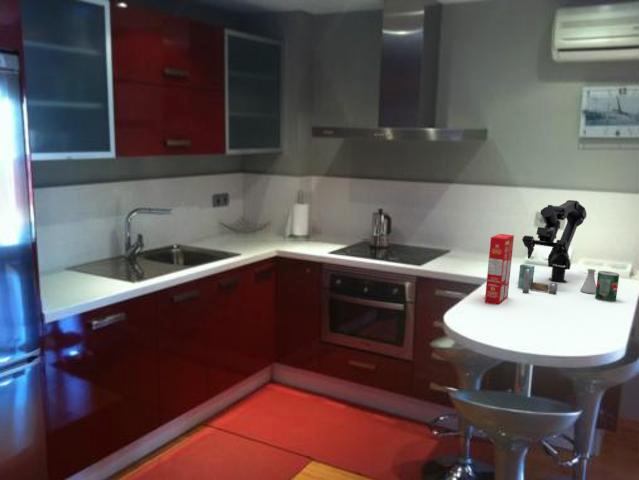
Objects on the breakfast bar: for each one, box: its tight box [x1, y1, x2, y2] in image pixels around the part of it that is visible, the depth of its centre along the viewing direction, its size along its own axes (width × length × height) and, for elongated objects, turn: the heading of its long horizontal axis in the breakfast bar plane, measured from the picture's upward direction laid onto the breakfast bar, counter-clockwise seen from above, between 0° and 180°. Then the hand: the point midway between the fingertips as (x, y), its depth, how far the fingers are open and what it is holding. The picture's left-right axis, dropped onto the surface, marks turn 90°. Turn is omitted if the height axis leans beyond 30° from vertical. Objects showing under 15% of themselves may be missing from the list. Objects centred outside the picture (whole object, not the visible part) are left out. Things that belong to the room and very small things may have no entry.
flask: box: [579, 268, 597, 295], centre depth 255 cm, size 7×7×10 cm
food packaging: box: [484, 233, 515, 305], centre depth 231 cm, size 15×5×25 cm, turn 150°
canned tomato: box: [594, 270, 620, 303], centre depth 243 cm, size 8×8×11 cm
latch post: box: [522, 269, 531, 295], centre depth 247 cm, size 2×2×10 cm
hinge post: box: [548, 283, 558, 295], centre depth 249 cm, size 3×3×4 cm
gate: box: [517, 263, 550, 293], centre depth 253 cm, size 12×4×10 cm, turn 54°
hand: (538, 259), depth 257 cm, fingers open, 9 cm apart
